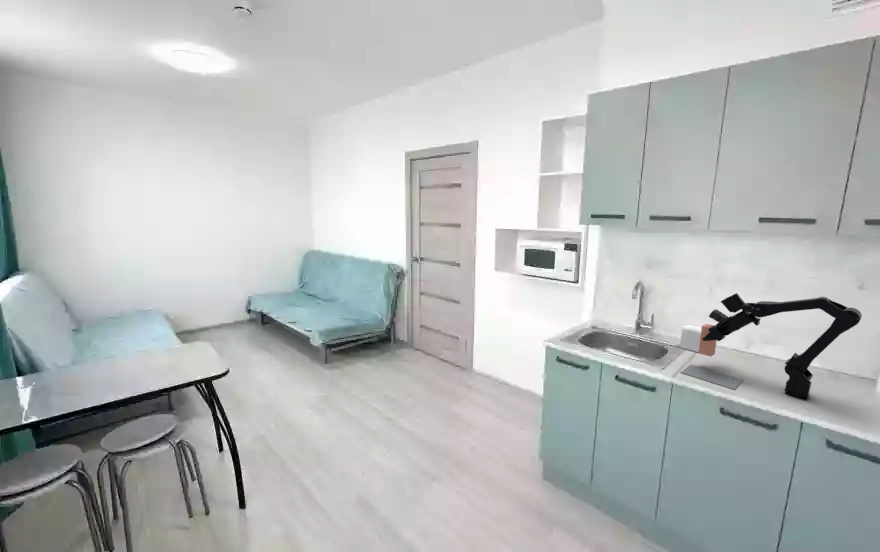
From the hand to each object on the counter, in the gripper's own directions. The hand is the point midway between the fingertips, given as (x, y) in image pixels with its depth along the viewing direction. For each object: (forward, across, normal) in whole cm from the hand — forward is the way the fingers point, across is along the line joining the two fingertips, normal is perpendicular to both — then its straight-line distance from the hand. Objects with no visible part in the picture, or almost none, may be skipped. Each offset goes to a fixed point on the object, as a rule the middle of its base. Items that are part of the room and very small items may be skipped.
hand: (704, 338), depth 179 cm
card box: (+4, 0, +6) cm, 7 cm away
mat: (+5, +8, +14) cm, 17 cm away
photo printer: (+17, -20, +2) cm, 26 cm away
